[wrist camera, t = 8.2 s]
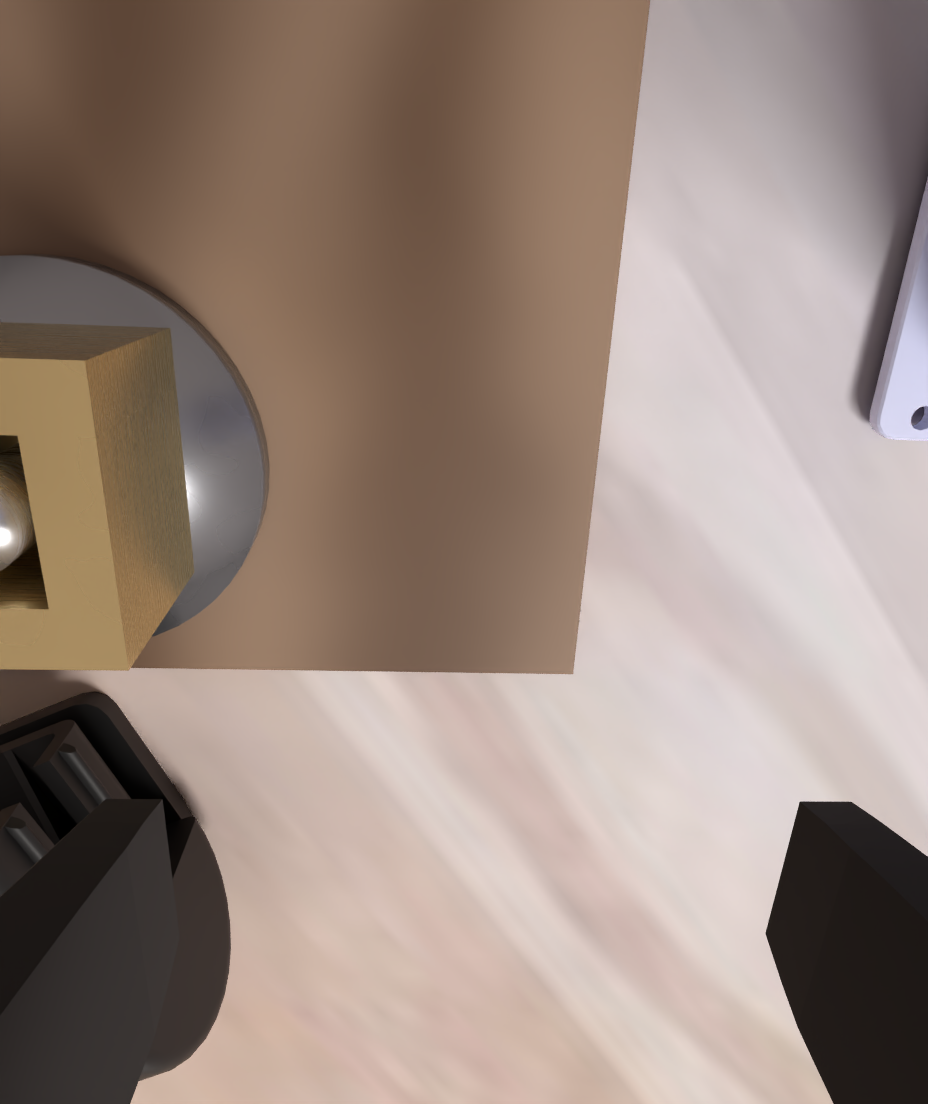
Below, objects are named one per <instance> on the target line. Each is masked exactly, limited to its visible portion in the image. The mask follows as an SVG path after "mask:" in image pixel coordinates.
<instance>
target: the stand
mask: <svg viewBox="0 0 928 1104" xmlns="http://www.w3.org/2000/svg"><path fill="white" fill-rule="evenodd" d="M0 322H15V323H44V324H72V325H100V326H129V327H157V328H170V329H171V339H172V349H173V359H174V369H175V380H176V390H177V400H178V410H179V420H180V430H181V440H182V450H183V460H184V470H185V480H186V490H187V501H188V511H189V521H190V531H191V541H192V551H193V561H194V571H195V572H194V574H193V575H192V577H191V578H190V580H189V581H188V583H187V584H186V586H185V587H184V589H183V590H182V592H181V593H180V595H179V596H178V598H177V599H176V601H175V602H174V604H173V605H172V607H171V608H170V610H169V611H168V613H167V614H166V616H165V617H164V619H163V620H162V622H161V623H160V625H159V626H158V627H157V629H156V630H155V632H154V633H153V635H152V636H151V637H153V636H156V635H159V634H161V633H163V632H166V631H168V630H170V629H173V628H175V627H177V626H179V625H181V624H182V623H184V622H186V621H187V620H189V619H191V618H192V617H194V616H196V615H197V614H198V613H200V612H201V611H202V610H203V609H205V608H206V607H207V606H208V605H210V604H211V603H212V602H213V601H214V600H215V599H216V598H217V597H218V596H219V595H220V594H221V593H222V592H223V591H224V590H225V588H226V587H227V586H228V585H229V584H230V583H231V581H232V580H233V578H234V577H235V575H236V574H237V572H238V571H239V569H240V568H241V566H242V565H243V563H244V561H245V559H246V557H247V555H248V554H249V552H250V550H251V548H252V546H253V543H254V541H255V539H256V537H257V535H258V533H259V530H260V527H261V524H262V521H263V518H264V515H265V511H266V505H267V499H268V493H269V473H270V464H269V455H268V447H267V440H266V436H265V432H264V428H263V424H262V420H261V416H260V414H259V411H258V409H257V406H256V404H255V401H254V399H253V396H252V394H251V391H250V390H249V388H248V386H247V384H246V382H245V381H244V379H243V377H242V375H241V373H240V371H239V370H238V368H237V367H236V365H235V364H234V362H233V361H232V359H231V358H230V357H229V355H228V354H227V352H226V351H225V350H224V348H223V347H222V346H221V344H220V343H219V342H218V341H217V340H216V339H215V338H214V337H213V336H212V335H211V333H210V332H209V331H208V330H207V329H206V328H205V327H204V326H203V325H202V324H201V323H200V322H199V321H198V320H197V319H195V318H194V317H193V316H192V315H191V314H190V313H189V312H187V311H186V310H185V309H184V308H183V307H182V306H180V305H179V304H178V303H176V302H175V301H173V300H172V299H170V298H169V297H167V296H166V295H164V294H163V293H162V292H160V291H159V290H157V289H156V288H154V287H152V286H150V285H148V284H146V283H144V282H142V281H140V280H138V279H137V278H135V277H133V276H131V275H128V274H126V273H123V272H121V271H118V270H115V269H113V268H110V267H107V266H105V265H102V264H98V263H94V262H90V261H86V260H82V259H78V258H73V257H65V256H56V255H47V254H36V255H7V256H0ZM36 543H37V541H36V535H35V530H34V524H33V518H32V513H31V507H30V502H29V496H28V491H27V485H26V480H25V474H24V469H23V463H22V457H21V452H20V446H19V441H18V436H14V435H0V571H1V570H3V569H4V568H6V567H7V566H8V565H10V564H11V563H12V562H13V561H15V560H16V559H17V558H18V557H19V556H21V555H22V554H23V553H24V552H26V551H27V550H28V549H29V548H31V547H32V546H33V545H34V544H36Z"/></svg>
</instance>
